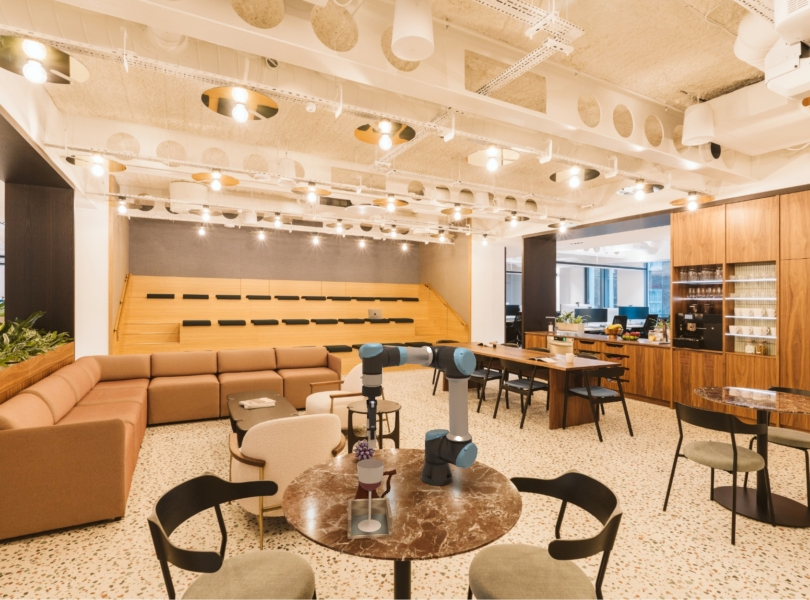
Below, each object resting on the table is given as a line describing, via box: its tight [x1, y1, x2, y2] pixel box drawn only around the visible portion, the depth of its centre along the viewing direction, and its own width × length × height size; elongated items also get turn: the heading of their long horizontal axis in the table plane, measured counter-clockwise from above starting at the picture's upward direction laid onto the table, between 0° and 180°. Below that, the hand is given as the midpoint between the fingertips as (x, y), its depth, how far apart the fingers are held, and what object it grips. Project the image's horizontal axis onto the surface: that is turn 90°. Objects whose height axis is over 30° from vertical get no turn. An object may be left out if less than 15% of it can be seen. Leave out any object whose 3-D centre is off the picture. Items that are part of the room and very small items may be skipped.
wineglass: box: [356, 458, 385, 532], centre depth 153 cm, size 9×10×23 cm
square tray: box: [347, 497, 394, 540], centre depth 154 cm, size 16×15×7 cm
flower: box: [353, 438, 376, 462], centre depth 217 cm, size 12×12×12 cm
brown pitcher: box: [352, 468, 397, 500], centre depth 172 cm, size 18×12×15 cm, turn 94°
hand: (371, 441), depth 153 cm, fingers open, 13 cm apart
